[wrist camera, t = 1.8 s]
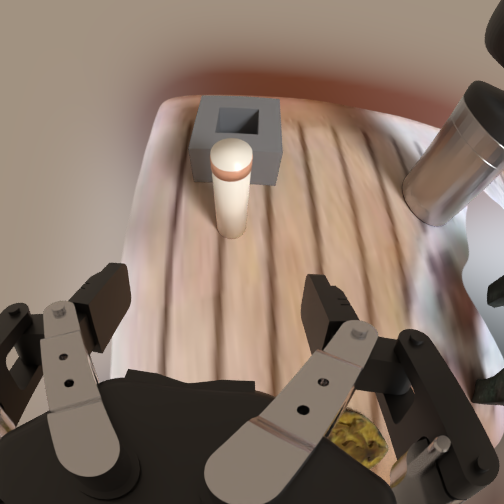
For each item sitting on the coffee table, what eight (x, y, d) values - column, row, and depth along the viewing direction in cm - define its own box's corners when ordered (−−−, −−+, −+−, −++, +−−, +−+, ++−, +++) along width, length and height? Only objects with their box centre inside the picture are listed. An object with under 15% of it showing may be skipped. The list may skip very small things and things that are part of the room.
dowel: (236, 208, 32) (238, 132, 21) (252, 230, 32) (261, 158, 20) (211, 221, 32) (202, 147, 21) (226, 244, 31) (222, 175, 20)
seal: (386, 407, 26) (255, 403, 25) (409, 405, 22) (261, 404, 21) (376, 480, 21) (243, 483, 21) (397, 488, 17) (246, 498, 17)
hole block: (204, 127, 38) (201, 95, 32) (274, 131, 38) (279, 99, 32) (194, 181, 34) (188, 148, 28) (275, 185, 34) (282, 153, 29)
